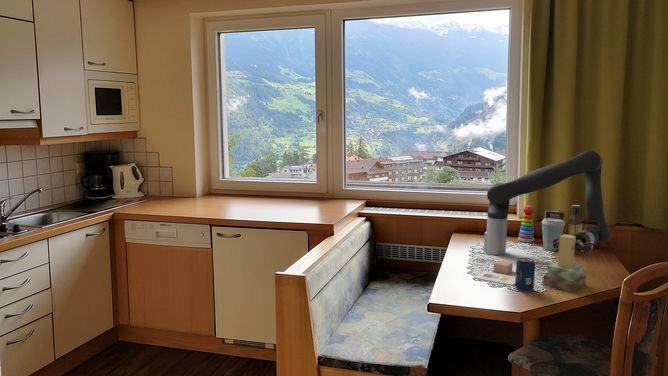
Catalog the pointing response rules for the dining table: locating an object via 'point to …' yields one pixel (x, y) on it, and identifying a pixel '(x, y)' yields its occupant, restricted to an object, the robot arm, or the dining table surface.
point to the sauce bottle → (575, 220)
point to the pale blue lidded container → (554, 214)
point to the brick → (502, 267)
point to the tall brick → (566, 250)
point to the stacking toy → (527, 225)
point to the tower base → (564, 283)
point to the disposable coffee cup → (551, 231)
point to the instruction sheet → (496, 277)
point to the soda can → (525, 274)
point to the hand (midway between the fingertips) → (565, 247)
